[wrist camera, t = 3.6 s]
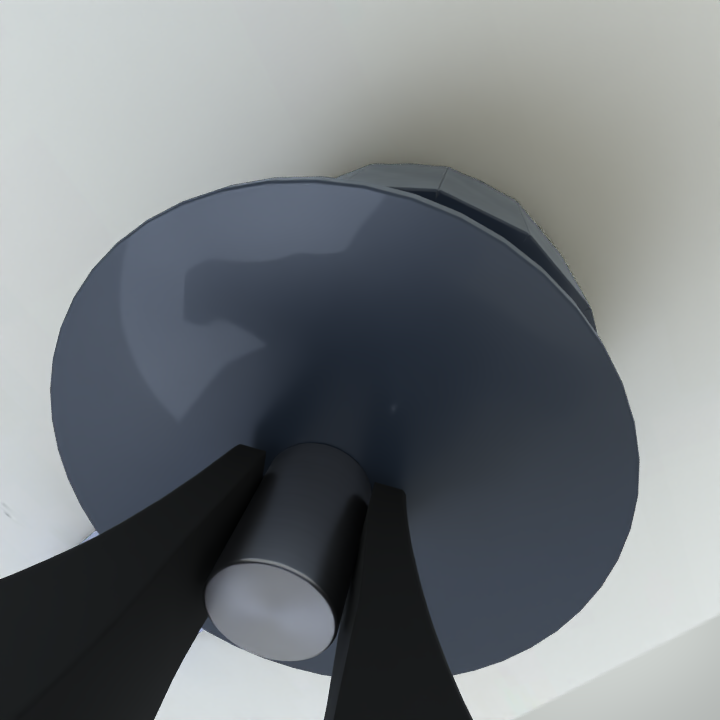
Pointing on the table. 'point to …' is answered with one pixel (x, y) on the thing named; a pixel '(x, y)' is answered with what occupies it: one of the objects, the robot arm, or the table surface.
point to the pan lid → (353, 410)
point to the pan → (479, 213)
